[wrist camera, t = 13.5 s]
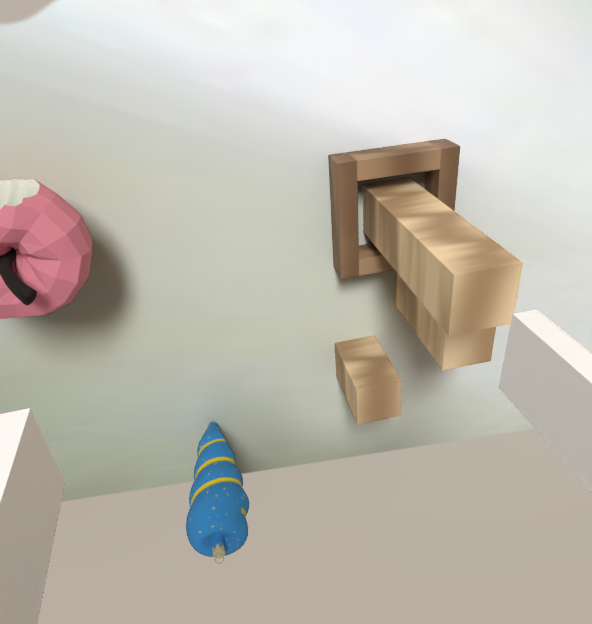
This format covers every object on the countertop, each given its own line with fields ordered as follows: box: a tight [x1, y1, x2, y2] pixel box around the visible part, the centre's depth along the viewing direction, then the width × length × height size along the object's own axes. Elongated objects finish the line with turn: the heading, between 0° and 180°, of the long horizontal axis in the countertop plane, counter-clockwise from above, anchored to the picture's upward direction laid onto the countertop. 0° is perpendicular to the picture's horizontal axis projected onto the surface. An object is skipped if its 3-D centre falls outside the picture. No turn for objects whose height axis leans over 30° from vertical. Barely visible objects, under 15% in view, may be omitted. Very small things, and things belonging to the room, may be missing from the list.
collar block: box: [329, 139, 460, 279], centre depth 41 cm, size 10×10×2 cm
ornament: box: [186, 422, 249, 564], centre depth 44 cm, size 5×5×15 cm
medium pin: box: [396, 272, 496, 371], centre depth 42 cm, size 4×4×10 cm
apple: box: [0, 179, 92, 319], centre depth 33 cm, size 10×9×10 cm
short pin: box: [335, 336, 402, 425], centre depth 47 cm, size 4×4×7 cm
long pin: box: [363, 178, 523, 336], centre depth 35 cm, size 4×4×16 cm
